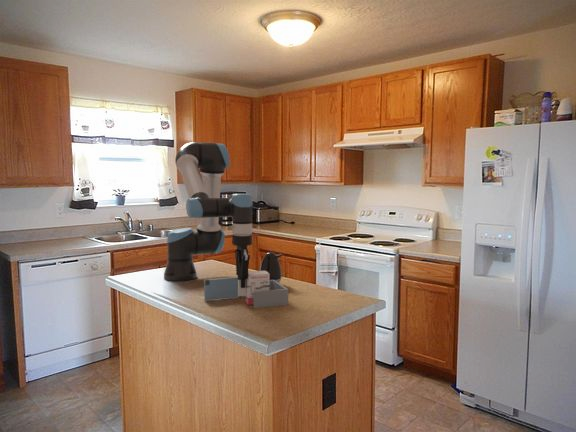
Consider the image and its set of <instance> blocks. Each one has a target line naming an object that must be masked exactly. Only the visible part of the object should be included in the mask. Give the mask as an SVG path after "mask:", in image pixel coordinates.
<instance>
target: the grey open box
mask: <svg viewBox="0 0 576 432" xmlns="http://www.w3.org/2000/svg"><path fill="white" fill-rule="evenodd" d="M242 298H245V296H238V299H242ZM286 305H287V306H288V305H289V288H287V287H286V286H284V285H283V284H282V283H280V282H279V283H278V282H277V281H275V280H269V290H266V291H256V292H254V301H253V308H254V309H260V308H268V307H277V306H278V307H280V306H286Z"/></svg>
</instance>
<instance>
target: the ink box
mask: <svg viewBox="0 0 576 432" xmlns="http://www.w3.org/2000/svg"><path fill="white" fill-rule="evenodd" d="M269 278H270V274H269V273H268V272H267V271H260V270H254V271H248V278H247V279H246V296H245V297H244V302H245V303H246V304H247V305H249V306H250V305H253V301H254V292H256V291H266V290H269Z"/></svg>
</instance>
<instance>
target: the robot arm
mask: <svg viewBox="0 0 576 432" xmlns="http://www.w3.org/2000/svg"><path fill="white" fill-rule="evenodd" d="M174 161H175V167H176V168H177V171H179V173H181V177H182V180H183V185H184V186H185V187H184V188H185V190H186V192H187V197H188V199H187V200H186V204H185V205H186V206H185V210H186V215H187V216H188V217H189V218H190V219H191V218H195V219H200V223H199V224H198V225H197V226H196V230H193V228H191V227H184V228H177V229H173V230H171V231H169V232H168V233H167V238H166V239H167V240H166V243H167V246H166V247H167V263H166V267H165V271H164V273H163V279H164V280H166V281H172V282H184V281H190V280H194V279H196V278H197V273H198V272H197V270H196V267H195V264H194V259H193V256H195V255H196V256H198V255H214V254H219V253H221V252H222V251H223V249H224V246H225V239H226V238H225V236H226V235H225V234H226V233H225V231H224V230H223V229H222V227H221V225H220V224H219V221H220V220H219V219H220V218H231V220H232V222H231V226H230V229H231V230H232V232H231V233H232V236H231V241H232V242H231V244H232V245H233V246H236V249H235V250H234V255H235V256H234V257H235V269H236V272H235V273H236V274H235V275H236V276H237V277H238V297H239V296H242V297H243V296H246V279H247V278H248V272H249V267H250V266H249V263H250V258H251V255H250V254H249V249H248V246H251V245H252V244H253V235H252V234H253V205H254V203H253V196H252V194H250V193H233V194H232V197H221V181H222V176H223V175H224V174H225V171H226V170H227V169H229V167H230V154H229V150H228V148H227V146H226V145H225V144H224V143H219V142H218V143H217V142H197V141H193V142H192V141H191V142H188V143H185V144H184V145H182V146H181V147H180V148H179V149H178V150H177V152H176V155H175V160H174Z"/></svg>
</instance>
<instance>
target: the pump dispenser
mask: <svg viewBox="0 0 576 432" xmlns="http://www.w3.org/2000/svg"><path fill="white" fill-rule="evenodd" d="M281 257H283V254H282V253H279V254H276V253H275V252H273V251H269V252H266V253H265V254H264V256H263V258H262V260H261V262H260V267H259V271H267V272H268V273H269V274H270V278H269V280H275V281H277V282H278V283H280V282H281V280H282V277H283V276H282V275H283V274H282V268H281V267H282V266H281V263H280V261H279V258H281Z"/></svg>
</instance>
